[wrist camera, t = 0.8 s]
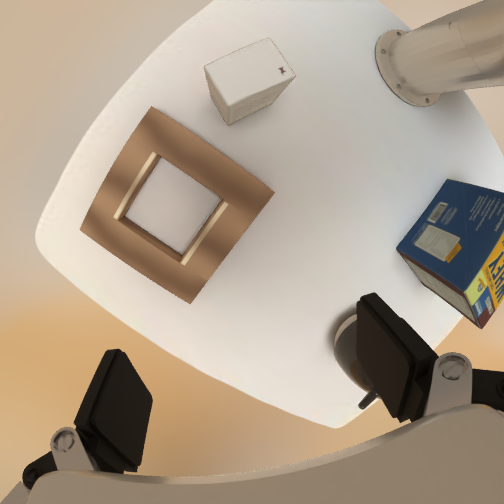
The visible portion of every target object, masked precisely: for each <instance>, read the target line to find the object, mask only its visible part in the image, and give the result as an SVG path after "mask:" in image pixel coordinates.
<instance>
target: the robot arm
mask: <svg viewBox="0 0 504 504" xmlns="http://www.w3.org/2000/svg"><path fill="white" fill-rule="evenodd" d="M376 60H377V64H378V67H379V70H380V72H381V74H382V76H383V78H384V80H385V81H386V83H387V84H388V86H389V87H390V88H391V89H392V90H393V92H394V93H395V94H396V95H398V96H399V97H400V98H401V99H403V100H404V101H405V102H407V103H409V104H412V105H415V106H429V105H432V104H434V103H435V102H436V101H437V100H438V99H439V97H440V96H441V93H444V92H451V91H458V90H465V89H474V88H482V87H494V86H504V0H483V1H481V2H478V3H476V4H473V5H471V6H468V7H465V8H463V9H460V10H458V11H455V12H453V13H450V14H448V15H446V16H443V17H441V18H439V19H436V20H434V21H432V22H430V23H427V24H425V25H423V26H421V27H419V28H417V29H415V30H413V31H411V32H406V31H402V30H391V31H388V32H386V33H385V34H383V35H382V36H381V37H380V38H379V40H378V42H377V44H376ZM356 355H357V358H358V360H359V362H360V364H361V365H362V367H363V369H364V370H365V372H366V374H367V375H368V377H369V379H370V380H371V382H372V384H373V385H374V387H375V389H376V390H377V392H378V394H379V395H380V397H381V399H382V401H383V402H384V404H385V406H386V407H387V409H388V411H389V413H390V414H391V416H392V417H393V418H396V417H397V418H398V420H399V422H400V423H401V422H404V421H405V420H408V419H410V421H411V423H409V424H407V425H405V426H403V427H400V428H398V429H395V430H393V431H391V432H389V433H386V434H384V435H381V436H379V437H376V438H374V439H371V440H369V441H366V442H363V443H360V444H358V445H355V446H352V447H349V448H346V449H343V450H340V451H337V452H334V453H331V454H328V455H324V456H321V457H317V458H314V459H309V460H305V461H302V462H297V463H293V464H288V465H284V466H279V467H274V468H268V469H262V470H256V471H250V472H242V473H234V474H225V475H211V476H191V477H160V476H158V477H157V476H140V475H128V474H124V470H125V471H128V472H137V469H138V466H140V465H141V461H142V455H143V449H144V444H145V438H146V433H147V427H148V422H149V417H150V412H151V407H152V402H153V399H152V395H151V394H150V392H149V391H148V389H147V388H146V386H145V384H144V383H143V381H142V380H141V378H140V377H139V375H138V373H137V372H136V370H135V369H134V367H133V365H132V363H131V362H130V360H129V358H128V357H127V355H126V353H125V352H122V351H121V350H120V349H113V350H107V351H106V352H105V354H104V356H103V358H102V360H101V362H100V364H99V366H98V368H97V370H96V372H95V374H94V377H93V379H92V381H91V383H90V385H89V388H88V390H87V392H86V394H85V397H84V399H83V401H82V404H81V406H80V408H79V411H78V413H77V416H76V418H75V421H74V424H75V425H76V429H73V428H71V427H64V428H61V429H59V430H58V431H56V433H55V434H54V435H53V437H52V439H51V443H50V445H51V450H52V451H50V452H48V453H47V454H45V455H44V456H42V457H40V458H39V459H37V460H35V461H34V462H32V463H30V464H29V465H28V466H27V467H26V468H25V469H24V472H23V476H22V479H23V483H22V482H21V481H20V482H19V483H18V484H17V485H16V486H15V487H14V488H13V490H12V491H11V492H10V493H9V494H8V495H7V496H6V497H5V498H4V499H3V501H2V502H1V504H504V372H500V371H490V370H480V369H472V365H471V362H470V361H469V359H468V358H467V357H466V356H464V355H462V354H460V353H454V352H451V353H446V354H443V355H441V356H440V357H439V356H438V355H437V354H436V353H435V352H434V351H433V350H432V349H431V348H430V346H429V345H428V344H427V343H426V342H425V341H424V340H423V339H422V338H421V337H420V336H419V335H418V334H417V332H416V331H415V330H414V329H413V328H412V327H411V326H410V325H409V324H408V323H407V322H406V321H405V320H404V319H403V318H400V317H399V316H398V315H397V314H396V313H395V312H394V311H393V310H392V309H391V308H390V307H389V306H388V305H387V304H386V303H385V302H384V301H383V300H382V299H381V298H380V297H379V296H378V295H377V294H376V293H370V294H367V295H364V296H361V298H360V301H358V302H357V336H356Z"/></svg>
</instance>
